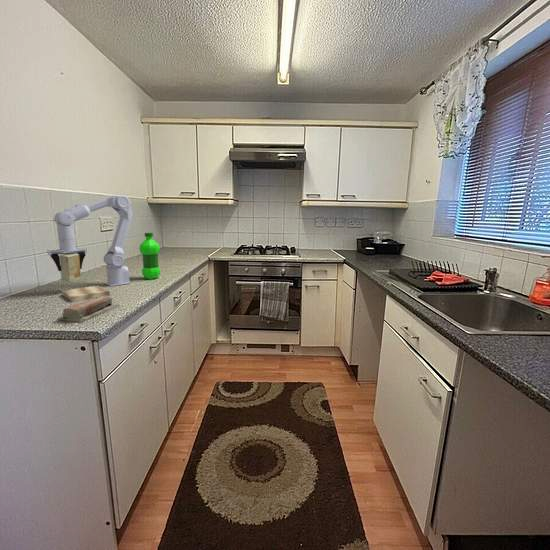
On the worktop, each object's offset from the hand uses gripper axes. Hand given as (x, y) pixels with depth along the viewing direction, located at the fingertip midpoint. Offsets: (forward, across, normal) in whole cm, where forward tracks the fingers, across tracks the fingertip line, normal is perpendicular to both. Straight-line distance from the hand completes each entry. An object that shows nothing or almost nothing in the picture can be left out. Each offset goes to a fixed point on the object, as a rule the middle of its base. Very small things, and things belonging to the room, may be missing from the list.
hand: (70, 269), depth 133 cm
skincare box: (+5, 0, 0) cm, 5 cm away
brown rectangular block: (+11, +4, +39) cm, 41 cm away
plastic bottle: (+10, -38, -2) cm, 39 cm away
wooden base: (+10, -2, +12) cm, 16 cm away
